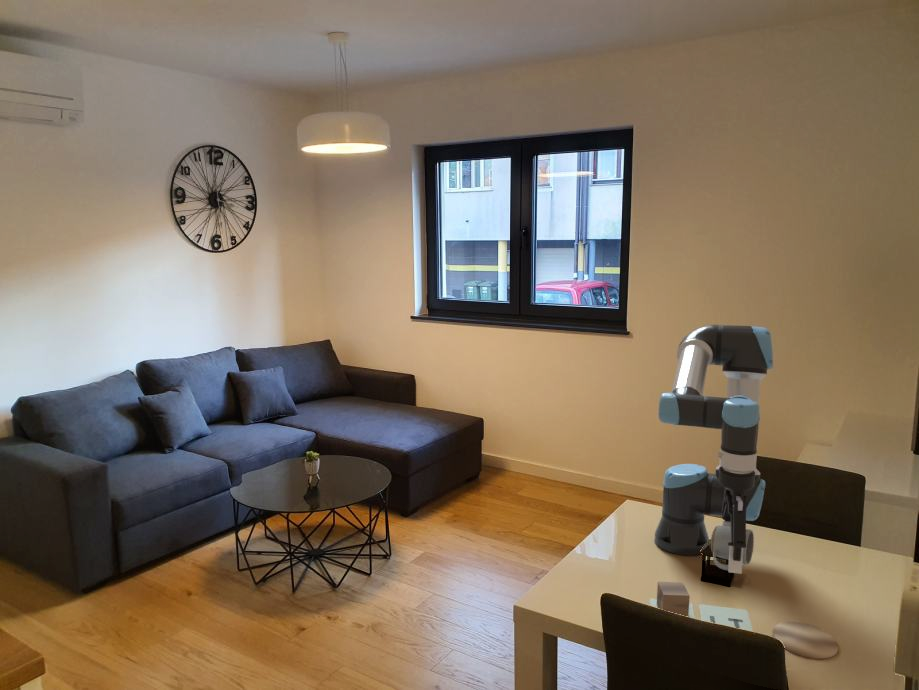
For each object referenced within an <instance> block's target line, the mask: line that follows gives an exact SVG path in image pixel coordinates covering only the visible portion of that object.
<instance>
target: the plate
mask: <svg viewBox="0 0 919 690" xmlns="http://www.w3.org/2000/svg"><path fill="white" fill-rule="evenodd" d="M649 605H651V606H654V607H657V608H658V606H657V598H651V597H650V598H649ZM688 617H692V618H695V619H696V617H695V613H694V607H693V603H692V602H689V615H688Z"/></svg>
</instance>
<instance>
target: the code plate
mask: <svg viewBox="0 0 919 690" xmlns="http://www.w3.org/2000/svg"><path fill="white" fill-rule="evenodd" d="M698 608H699V613H700V618H701V621H702V620H705V621H708V622H713V623H718V624H723V625H726V626H731V627H736V628H740V629H745V630H749V631H753V632H754V633H755V631H754V628H753V626H752V623H751V619H750V616H749V613H748V610H747V609H743V608H734V607H725V606H718V605H708V604H702V603H698Z"/></svg>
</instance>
